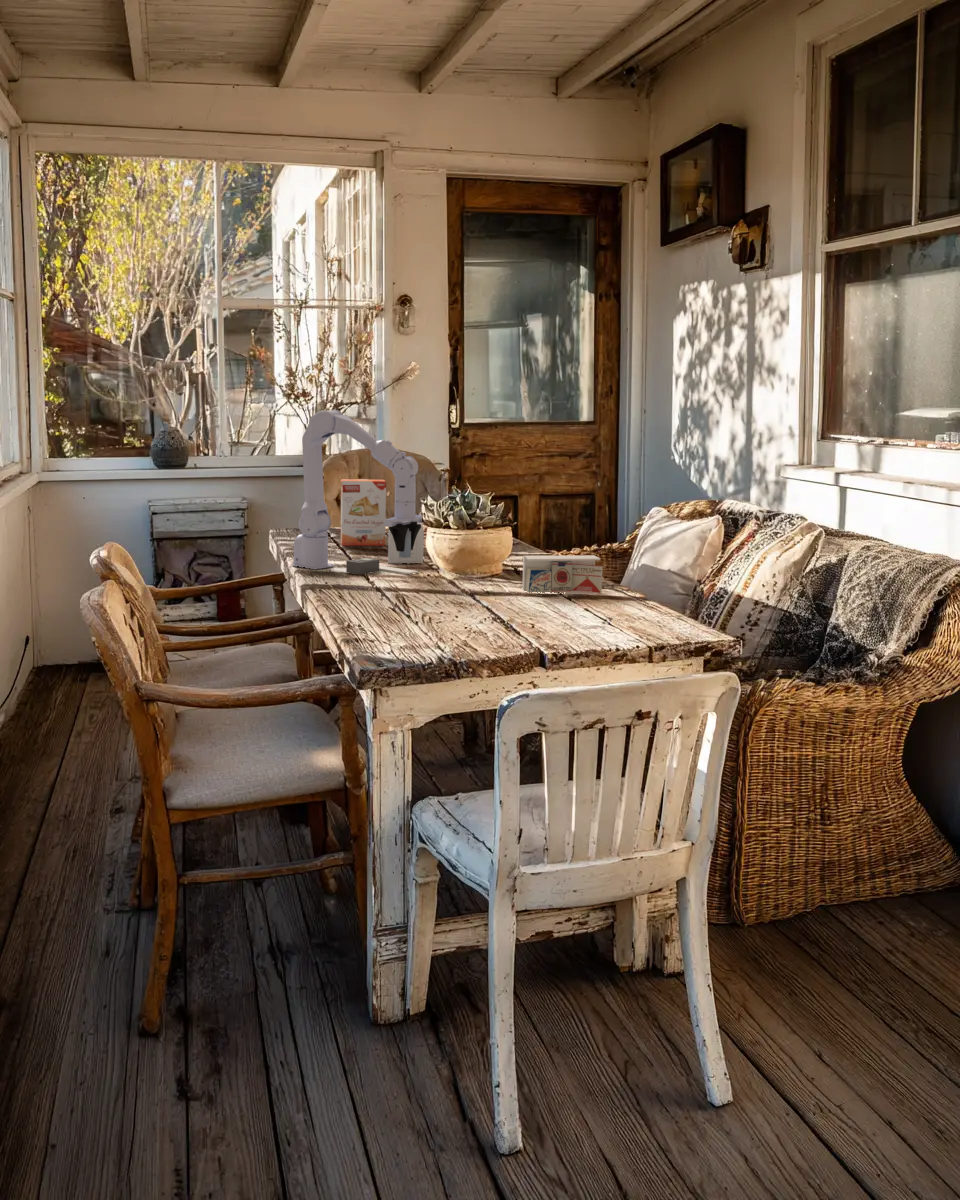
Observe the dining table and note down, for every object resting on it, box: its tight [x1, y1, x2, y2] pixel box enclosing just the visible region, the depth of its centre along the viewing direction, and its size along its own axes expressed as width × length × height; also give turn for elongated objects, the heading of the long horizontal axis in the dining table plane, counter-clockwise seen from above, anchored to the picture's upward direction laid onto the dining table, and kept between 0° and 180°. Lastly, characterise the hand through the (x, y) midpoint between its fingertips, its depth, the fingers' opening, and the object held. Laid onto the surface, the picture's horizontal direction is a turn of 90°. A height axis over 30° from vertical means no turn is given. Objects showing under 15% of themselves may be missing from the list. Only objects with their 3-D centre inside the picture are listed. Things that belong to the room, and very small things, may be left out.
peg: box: [399, 528, 411, 558], centre depth 323 cm, size 3×3×8 cm
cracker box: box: [340, 478, 387, 547], centre depth 374 cm, size 14×6×21 cm, turn 102°
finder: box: [345, 557, 380, 575], centre depth 325 cm, size 5×8×4 cm, turn 143°
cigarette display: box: [521, 554, 603, 594], centre depth 299 cm, size 20×6×9 cm, turn 100°
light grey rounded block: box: [387, 521, 425, 565], centre depth 340 cm, size 10×4×12 cm, turn 98°
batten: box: [379, 564, 420, 575], centre depth 327 cm, size 16×4×1 cm, turn 53°
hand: (404, 550), depth 324 cm, fingers closed on peg, 3 cm apart
